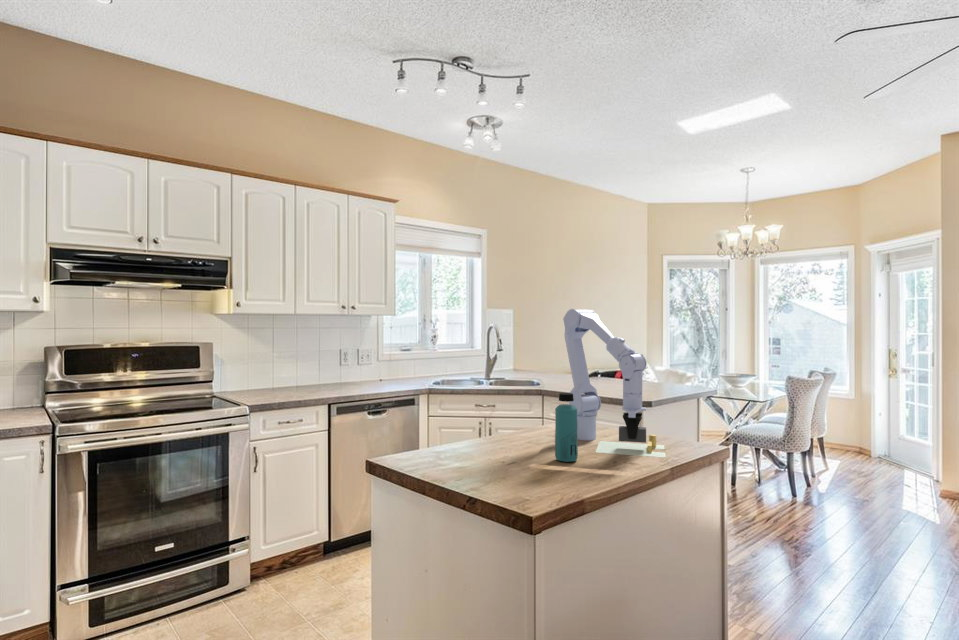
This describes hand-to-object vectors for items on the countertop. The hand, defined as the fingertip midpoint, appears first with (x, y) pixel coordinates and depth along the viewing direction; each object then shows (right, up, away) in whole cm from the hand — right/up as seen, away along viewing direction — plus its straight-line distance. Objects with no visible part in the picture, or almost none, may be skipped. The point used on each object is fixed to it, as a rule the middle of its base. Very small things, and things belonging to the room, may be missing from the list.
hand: (632, 437), depth 170 cm
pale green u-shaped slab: (0, -5, 0) cm, 5 cm away
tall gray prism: (0, -1, 0) cm, 1 cm away
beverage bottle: (-23, -5, -14) cm, 27 cm away
